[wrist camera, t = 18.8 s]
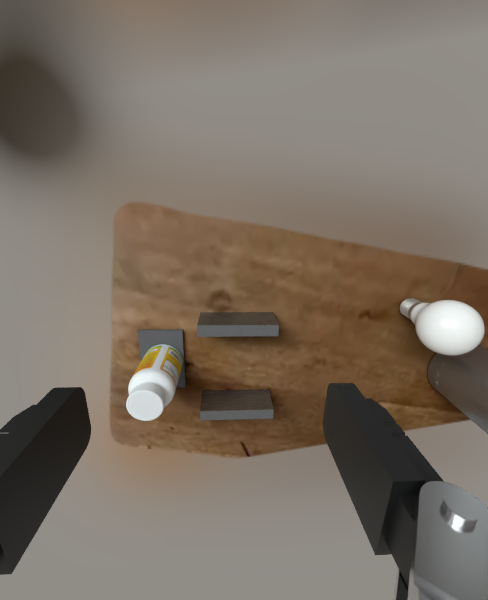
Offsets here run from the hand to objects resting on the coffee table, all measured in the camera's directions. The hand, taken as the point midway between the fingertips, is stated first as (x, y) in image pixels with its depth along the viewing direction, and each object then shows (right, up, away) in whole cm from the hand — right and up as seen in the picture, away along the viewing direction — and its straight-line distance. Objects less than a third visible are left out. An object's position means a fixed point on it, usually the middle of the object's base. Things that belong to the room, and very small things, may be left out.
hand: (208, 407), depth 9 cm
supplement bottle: (-10, -5, +30) cm, 32 cm away
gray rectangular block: (-10, -5, +30) cm, 33 cm away
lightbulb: (+24, +3, +30) cm, 39 cm away
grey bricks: (0, -5, +31) cm, 31 cm away
